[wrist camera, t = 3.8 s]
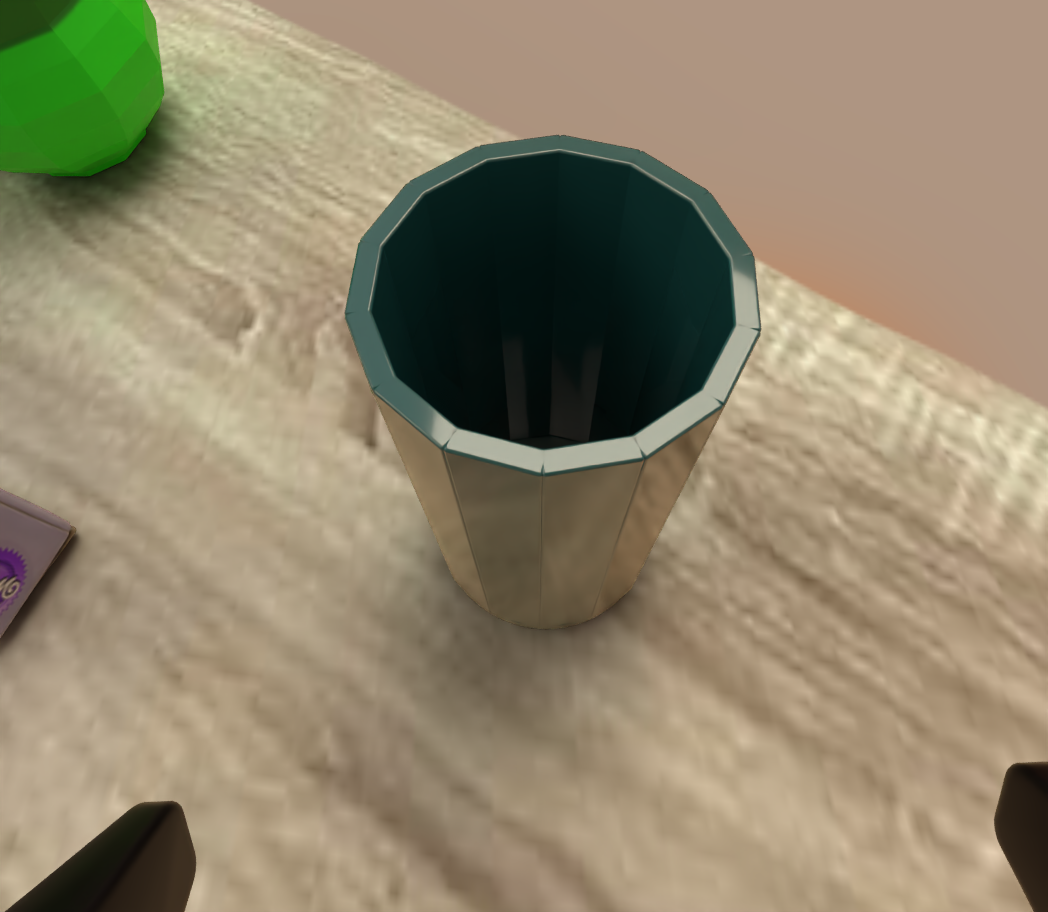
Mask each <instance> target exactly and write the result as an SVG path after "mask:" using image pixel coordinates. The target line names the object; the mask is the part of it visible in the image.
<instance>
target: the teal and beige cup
mask: <svg viewBox="0 0 1048 912" xmlns="http://www.w3.org/2000/svg"><path fill="white" fill-rule="evenodd" d="M345 320H346V323H347V326H348V328H349V331H350V334H351V337H352V339H353V342H354V345H355V348H356V350H357V353H358V356H359V359H360V361H361V364H362V367H363V369H364V372H365V375H366V378H367V380H368V383H369V386H370V389H371V391H372V393H373V395H374V398H375V400H376V402H377V405H378V407H379V409H380V412H381V414H382V416H383V418H384V421H385V423H386V425H387V428H388V430H389V432H390V434H391V437H392V439H393V441H394V444H395V446H396V448H397V450H398V453H399V455H400V457H401V460H402V462H403V464H404V466H405V469H406V471H407V473H408V476H409V478H410V480H411V483H412V485H413V487H414V489H415V492H416V494H417V496H418V499H419V501H420V503H421V505H422V508H423V510H424V512H425V515H426V517H427V519H428V521H429V524H430V526H431V528H432V531H433V533H434V535H435V538H436V540H437V542H438V544H439V547H440V549H441V551H442V554H443V556H444V558H445V560H446V563H447V565H448V567H449V570H450V572H451V574H452V576H453V579H454V580H455V582H456V583H457V584H458V585H460V586H461V588H462V589H463V590H464V591H465V592H466V594H467V595H468V596H469V597H470V598H471V599H472V600H473V601H474V602H475V603H476V604H478V605H479V606H480V607H481V608H483V609H484V610H486V611H487V612H489V613H490V614H492V615H494V616H496V617H498V618H500V619H502V620H504V621H506V622H509V623H512V624H515V625H518V626H523V627H528V628H535V629H557V628H564V627H569V626H574V625H577V624H580V623H583V622H586V621H589V620H591V619H593V618H594V617H596V616H598V615H600V614H602V613H603V612H605V611H606V610H608V609H609V608H611V607H612V606H613V605H614V604H615V603H616V602H618V601H619V600H620V599H621V598H622V597H623V596H624V595H625V594H626V593H627V592H629V591H630V589H631V588H632V587H633V585H634V583H635V581H636V579H637V577H638V575H639V573H640V571H641V569H642V567H643V565H644V563H645V561H646V559H647V557H648V555H649V553H650V551H651V549H652V547H653V546H654V544H655V542H656V540H657V538H658V536H659V534H660V532H661V530H662V528H663V526H664V524H665V522H666V520H667V518H668V516H669V514H670V512H671V510H672V508H673V507H674V505H675V503H676V501H677V499H678V497H679V495H680V493H681V491H682V489H683V487H684V485H685V483H686V481H687V479H688V477H689V475H690V473H691V471H692V469H693V468H694V466H695V464H696V462H697V460H698V458H699V456H700V454H701V452H702V450H703V448H704V446H705V444H706V442H707V440H708V438H709V436H710V434H711V432H712V430H713V429H714V427H715V425H716V423H717V421H718V419H719V417H720V415H721V413H722V411H723V409H724V407H725V405H726V403H727V401H728V399H729V397H730V395H731V393H732V391H733V389H734V387H735V385H736V383H737V381H738V379H739V377H740V375H741V373H742V371H743V369H744V367H745V365H746V363H747V361H748V359H749V357H750V355H751V353H752V351H753V349H754V347H755V345H756V343H757V341H758V339H759V337H760V332H761V320H760V310H759V300H758V290H757V279H756V269H755V259H754V256H753V253H752V251H751V250H750V248H749V247H748V245H747V244H746V243H745V241H744V240H743V238H742V237H741V236H740V234H739V233H738V231H737V230H736V228H735V227H734V226H733V224H732V223H731V221H730V220H729V218H728V217H727V215H726V214H725V213H724V211H723V210H722V208H721V207H720V205H719V204H718V202H717V201H716V200H715V198H714V197H713V195H712V194H711V193H709V192H708V190H706V189H705V188H703V187H702V186H700V185H698V184H696V183H695V182H693V181H692V180H690V179H688V178H687V177H685V176H683V175H682V174H680V173H678V172H677V171H675V170H673V169H672V168H670V167H668V166H667V165H665V164H663V163H662V162H660V161H658V160H657V159H655V158H653V157H652V156H650V155H648V154H647V153H645V152H643V151H641V152H640V150H637V149H632V148H627V147H622V146H617V145H611V144H607V143H602V142H596V141H591V140H586V139H580V138H576V137H571V136H566V135H561V136H559V135H553V136H545V137H538V138H530V139H523V140H516V141H508V142H501V143H493V144H486V145H481V146H480V147H475V148H473V149H471V150H469V151H467V152H465V153H463V154H461V155H459V156H457V157H455V158H454V159H452V160H450V161H448V162H446V163H444V164H442V165H440V166H438V167H436V168H434V169H432V170H430V171H428V172H426V173H425V174H423V175H421V176H419V177H417V178H415V179H413V180H411V181H410V182H409V183H407V184H406V185H405V186H404V187H403V188H402V190H401V191H400V192H399V193H398V195H397V196H396V197H395V198H394V199H393V201H392V202H391V203H390V204H389V205H388V207H387V208H386V209H385V210H384V211H383V213H382V214H381V215H380V216H379V218H378V219H377V220H376V221H375V222H374V224H373V225H372V226H371V227H370V228H369V230H368V231H367V232H366V233H365V234H364V236H363V237H362V238H361V240H360V242H359V244H358V249H357V254H356V258H355V263H354V268H353V273H352V278H351V283H350V288H349V293H348V298H347V303H346V308H345Z"/></svg>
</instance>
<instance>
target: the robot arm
mask: <svg viewBox="0 0 1048 912" xmlns="http://www.w3.org/2000/svg"><path fill="white" fill-rule="evenodd" d="M994 826H995V832H996V836H997V839H998V842H999V844H1000V846H1001V848H1002V850H1003V852H1004V854H1005V856H1006V858H1007V860H1008V862H1009V864H1010V866H1011V868H1012V870H1013V872H1014V874H1015V876H1016V878H1017V880H1018V882H1019V884H1020V885H1021V887H1022V889H1023V891H1024V893H1025V895H1026V897H1027V899H1028V901H1029V903H1030V905H1031V907H1032V909H1033V911H1034V912H1048V762H1028V763H1016V764H1013V765H1012V766H1011V767H1009V769H1008V770H1007V772H1006V775H1005V778H1004V782H1003V786H1002V790H1001V794H1000V798H999V801H998V805H997V809H996V813H995V818H994ZM195 871H196V855H195V851H194V847H193V843H192V840H191V836H190V833H189V829H188V826H187V822H186V819H185V815H184V812H183V809H182V807H181V806H180V805H179V804H178V803H177V802H174V801H162V802H144V803H140V804H138V805H136V806H134V807H133V808H131V809H130V810H129V811H127V812H126V813H125V814H124V815H122V816H121V817H120V818H119V819H118V820H116V821H115V822H114V823H113V824H111V825H110V826H109V827H108V828H107V829H105V830H104V831H103V832H102V833H100V834H99V835H98V836H97V837H96V838H94V839H93V840H92V841H91V842H89V843H88V844H87V845H86V846H85V847H83V848H82V849H81V850H80V851H78V852H77V853H76V854H75V855H74V856H72V857H71V858H70V859H69V860H67V861H66V862H65V863H64V864H63V865H61V866H60V867H59V868H58V869H56V870H55V871H54V872H53V873H52V874H50V875H49V876H48V877H47V878H46V879H44V880H43V881H42V882H41V883H39V884H38V885H37V886H36V887H35V888H33V889H32V890H31V891H30V892H28V893H27V894H26V895H25V896H24V897H22V898H21V899H20V900H19V901H17V902H16V903H15V904H14V905H13V906H11V907H10V908H9V909H8V910H6V911H5V912H184V911H185V908H186V905H187V901H188V898H189V895H190V891H191V888H192V885H193V881H194V877H195Z"/></svg>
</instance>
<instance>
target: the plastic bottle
mask: <svg viewBox="0 0 1048 912" xmlns="http://www.w3.org/2000/svg"><path fill="white" fill-rule="evenodd" d="M163 95H164V86H163V78H162V70H161V62H160V54H159V46H158V38H157V29H156V21H155V18H154V16H153V14H152V12H151V10H150V8H149V6H148V4H147V2H146V1H145V0H0V170H2V171H7V172H12V173H48V174H50V175H51V176H92V175H94V174H96V173H98V172H100V171H103V170H105V169H107V168H109V167H111V166H114V165H116V164H118V163H120V162H122V161H125V160H126V159H127V158H128V157H129V155H130V154H131V153H132V152H133V150H134V149H135V148H136V146H137V145H138V144H139V143H140V141H141V140H142V139H143V138H144V136H145V135H146V127H147V126H148V125H149V124H150V122H151V120H152V118H153V116H154V115H155V113H156V112H157V110H158V109H159V108H160V105H161V101H162V98H163Z"/></svg>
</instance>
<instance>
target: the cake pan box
mask: <svg viewBox="0 0 1048 912" xmlns="http://www.w3.org/2000/svg"><path fill="white" fill-rule="evenodd" d="M75 532H76V528H75V527H73V526H71V525H70V523H69V522H68V521H66V520H64V519H63V518H61V517H59V516H57V515H55V514H53V513H51V512H49V511H47V510H45V509H43V508H41V507H39V506H37V505H35V504H33V503H31V502H28V501H26V500H24V499H22V498H20V497H17V496H15V495H13V494H11V493H9V492H7V491H5V490H3V489H1V488H0V638H1V636H2V635H3V633H4V632H5V630H6V629H7V627H8V626H9V625H10V623H11V622H12V620H13V619H14V617H15V616H16V614H17V613H18V611H19V610H20V608H21V607H22V605H23V604H24V602H25V601H26V599H27V598H28V596H29V595H30V593H31V592H32V590H33V589H34V588H35V586H36V585H37V584H38V582H39V581H40V580H41V578H42V577H43V575H44V574H45V573H46V571H47V570H48V568H49V567H50V566H51V565H52V563H53V562H54V561H55V560H56V558H57V557H58V556H59V555H60V553H61V552H62V551H63V549H64V548H65V546H66V545H67V543H68V542H69V540H70V539H71V538H72V536H73V535H74V533H75Z"/></svg>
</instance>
